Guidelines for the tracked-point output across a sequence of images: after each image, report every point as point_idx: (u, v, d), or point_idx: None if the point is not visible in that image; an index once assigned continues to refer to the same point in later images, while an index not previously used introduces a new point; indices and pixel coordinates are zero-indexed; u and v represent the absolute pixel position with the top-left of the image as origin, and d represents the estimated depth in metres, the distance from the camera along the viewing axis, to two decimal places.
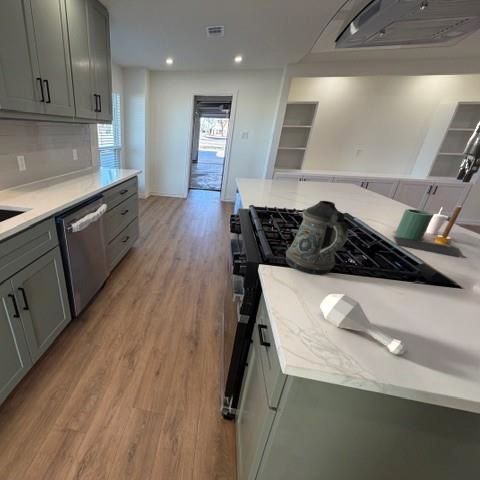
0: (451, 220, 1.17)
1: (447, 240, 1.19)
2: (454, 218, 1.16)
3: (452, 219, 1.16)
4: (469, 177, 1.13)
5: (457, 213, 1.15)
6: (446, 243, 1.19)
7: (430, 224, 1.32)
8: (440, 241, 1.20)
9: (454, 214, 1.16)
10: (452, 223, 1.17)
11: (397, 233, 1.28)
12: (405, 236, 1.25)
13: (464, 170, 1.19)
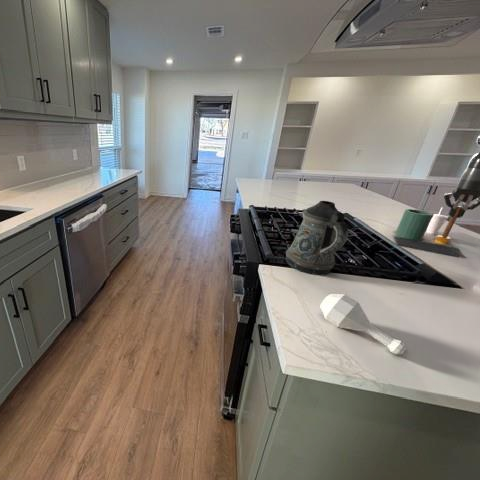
0: (451, 220, 1.17)
1: (447, 240, 1.19)
2: (454, 218, 1.16)
3: (452, 219, 1.16)
4: (449, 211, 1.16)
5: (457, 213, 1.15)
6: (446, 243, 1.19)
7: (430, 224, 1.32)
8: (440, 241, 1.20)
9: (454, 214, 1.16)
10: (452, 223, 1.17)
11: (397, 233, 1.28)
12: (405, 236, 1.25)
13: (462, 208, 1.14)
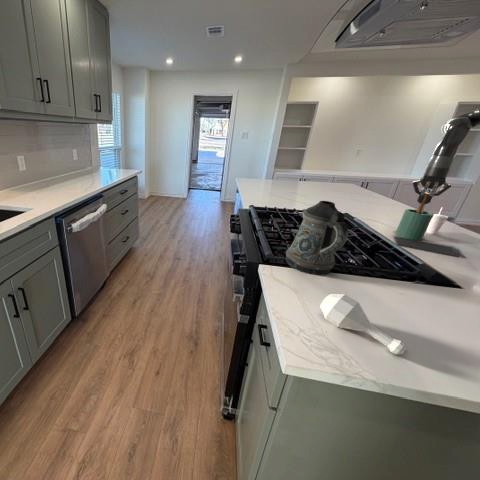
0: (419, 206, 1.22)
1: None
2: (422, 204, 1.21)
3: (420, 205, 1.22)
4: (418, 198, 1.22)
5: (425, 199, 1.20)
6: None
7: (430, 224, 1.32)
8: None
9: (422, 200, 1.21)
10: (420, 209, 1.22)
11: (397, 233, 1.28)
12: (405, 236, 1.25)
13: (429, 194, 1.19)
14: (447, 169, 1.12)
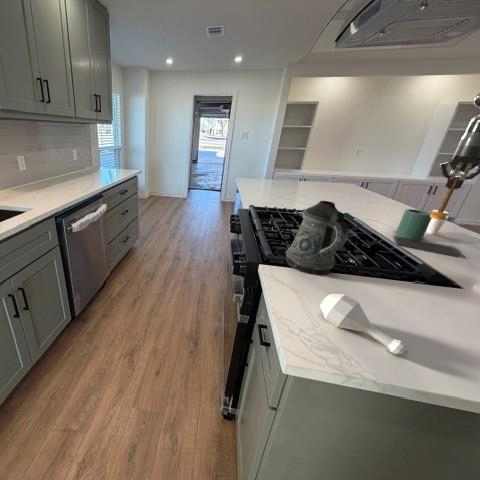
0: (448, 192, 1.07)
1: (444, 215, 1.08)
2: (451, 190, 1.06)
3: (449, 191, 1.06)
4: (446, 182, 1.06)
5: (454, 184, 1.05)
6: (442, 218, 1.09)
7: (430, 224, 1.32)
8: (436, 216, 1.10)
9: (451, 185, 1.05)
10: (449, 196, 1.07)
11: (397, 233, 1.28)
12: (405, 236, 1.25)
13: (460, 178, 1.04)
14: None
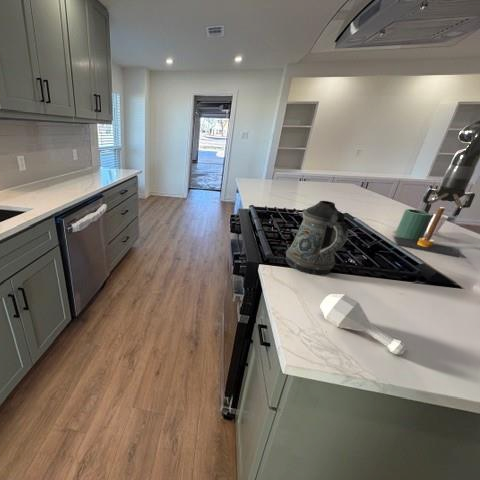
0: (434, 222, 1.12)
1: (430, 243, 1.14)
2: (437, 220, 1.11)
3: (435, 221, 1.11)
4: (425, 207, 1.12)
5: (440, 215, 1.10)
6: (429, 246, 1.14)
7: (430, 224, 1.32)
8: (423, 244, 1.15)
9: (437, 216, 1.11)
10: (435, 225, 1.12)
11: (397, 233, 1.28)
12: (405, 236, 1.25)
13: (458, 206, 1.07)
14: (467, 180, 1.01)
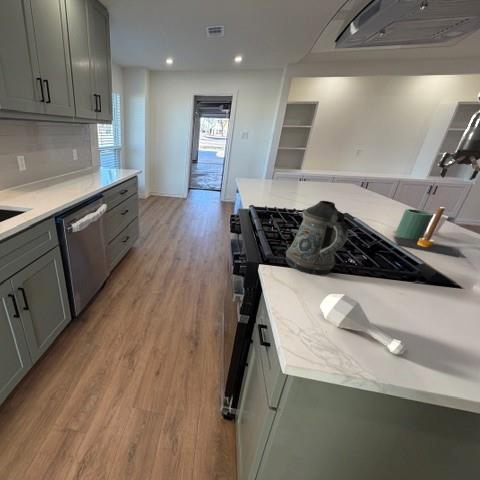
0: (434, 222, 1.12)
1: (430, 243, 1.14)
2: (437, 220, 1.11)
3: (435, 221, 1.11)
4: (441, 172, 1.12)
5: (440, 215, 1.10)
6: (429, 246, 1.14)
7: (430, 224, 1.32)
8: (423, 244, 1.15)
9: (437, 216, 1.11)
10: (435, 225, 1.12)
11: (397, 233, 1.28)
12: (405, 236, 1.25)
13: (474, 169, 1.06)
14: None
